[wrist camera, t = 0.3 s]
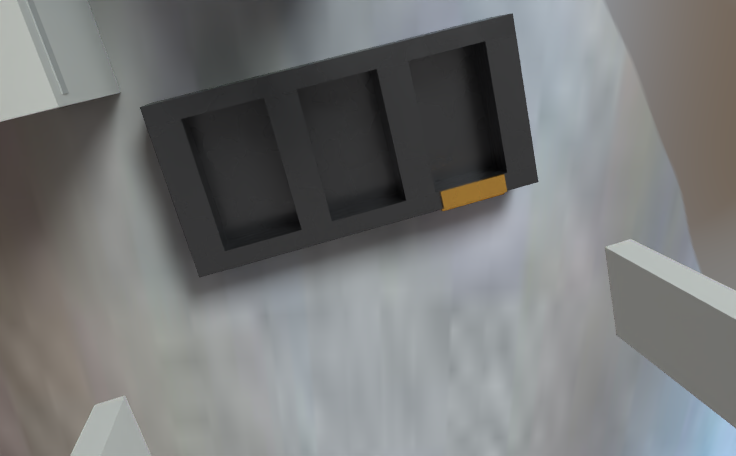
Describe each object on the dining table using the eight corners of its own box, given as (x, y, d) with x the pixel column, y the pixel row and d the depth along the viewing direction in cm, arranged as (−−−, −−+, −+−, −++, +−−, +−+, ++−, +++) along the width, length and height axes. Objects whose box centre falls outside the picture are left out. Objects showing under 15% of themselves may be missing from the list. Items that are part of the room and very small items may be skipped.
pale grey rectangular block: (8, -10, 35) (-115, -44, 23) (79, -26, 35) (-9, -67, 24) (55, 108, 37) (-37, 130, 25) (121, 92, 37) (59, 106, 26)
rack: (150, 103, 38) (139, 107, 34) (492, 17, 40) (513, 13, 36) (205, 264, 41) (200, 282, 38) (518, 176, 43) (540, 186, 40)
